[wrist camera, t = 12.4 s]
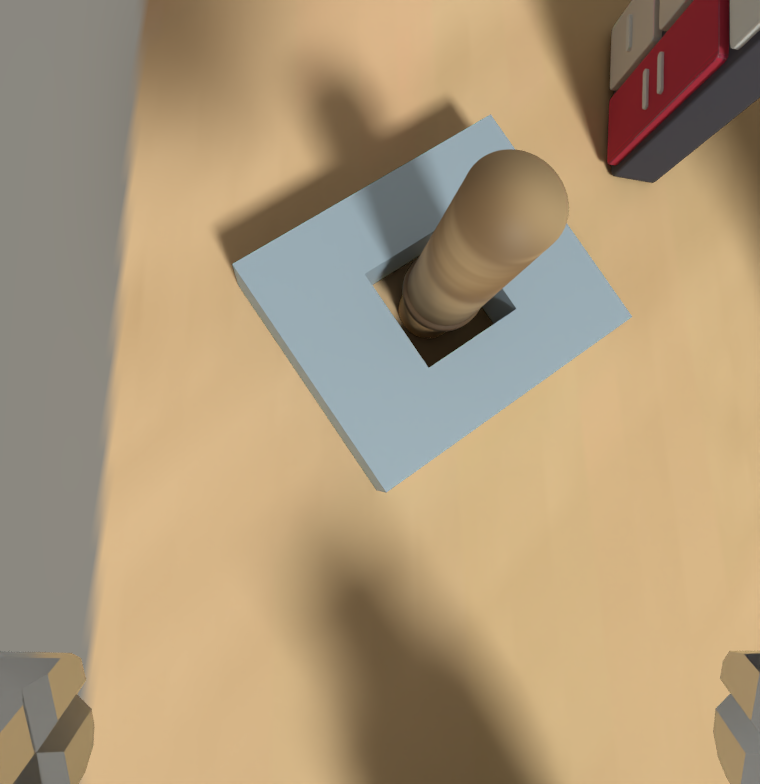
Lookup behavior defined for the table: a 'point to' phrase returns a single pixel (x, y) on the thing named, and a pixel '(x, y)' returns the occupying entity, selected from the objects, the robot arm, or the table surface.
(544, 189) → the peg
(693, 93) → the calculator
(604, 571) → the table surface
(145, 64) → the table surface
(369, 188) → the seat board
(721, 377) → the table surface
